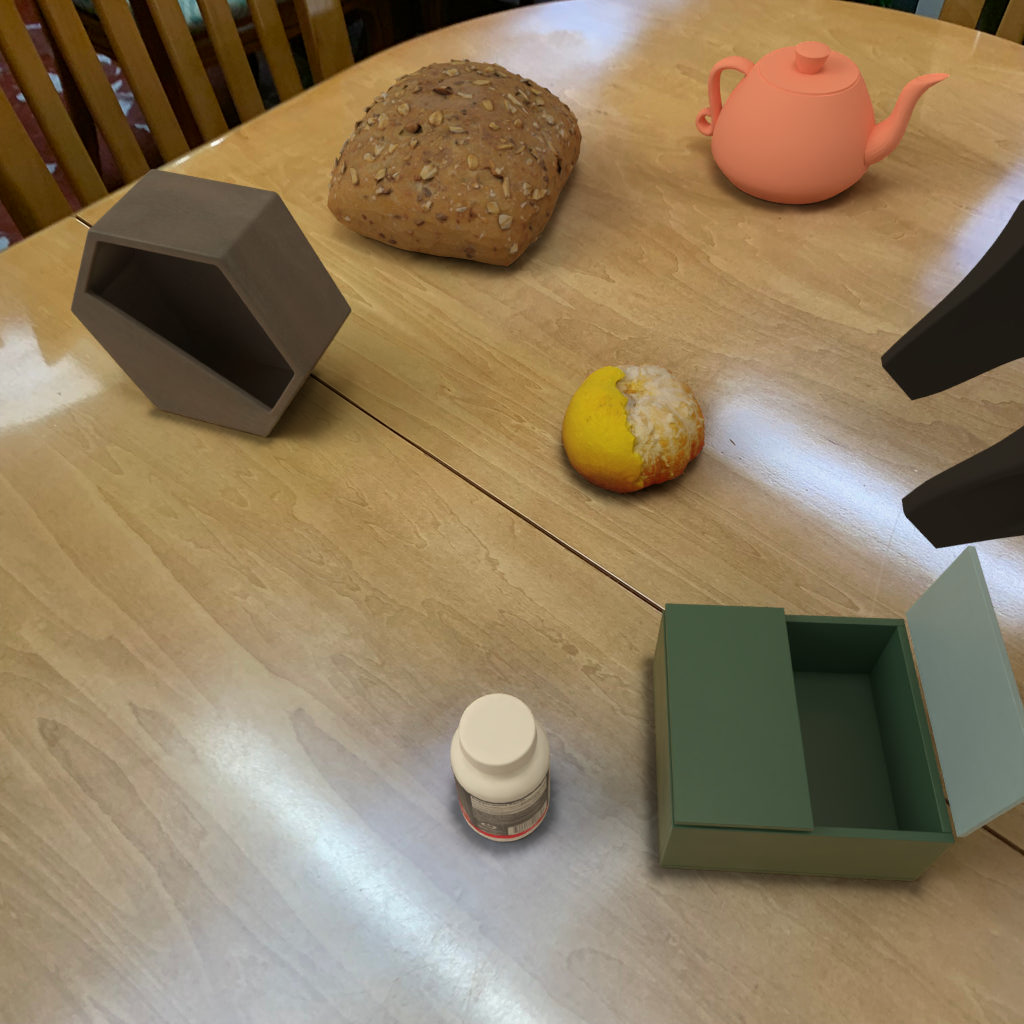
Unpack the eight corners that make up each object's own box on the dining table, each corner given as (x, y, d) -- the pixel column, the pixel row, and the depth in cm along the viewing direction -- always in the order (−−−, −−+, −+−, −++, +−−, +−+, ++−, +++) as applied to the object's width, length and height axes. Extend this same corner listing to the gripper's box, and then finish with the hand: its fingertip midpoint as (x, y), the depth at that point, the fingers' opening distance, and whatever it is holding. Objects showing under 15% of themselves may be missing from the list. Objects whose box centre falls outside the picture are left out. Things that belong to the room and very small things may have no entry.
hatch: (905, 612, 53) (911, 613, 53) (956, 836, 45) (964, 837, 46) (968, 545, 48) (975, 546, 48) (1039, 785, 40) (1048, 787, 40)
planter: (61, 348, 73) (99, 175, 57) (117, 288, 78) (167, 112, 61) (248, 466, 77) (332, 336, 61) (291, 403, 82) (380, 266, 66)
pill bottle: (461, 755, 56) (448, 680, 49) (549, 755, 56) (550, 679, 49) (457, 844, 53) (442, 779, 45) (550, 844, 53) (551, 778, 45)
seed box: (873, 671, 59) (908, 611, 53) (914, 881, 51) (961, 837, 45) (652, 662, 60) (664, 602, 54) (659, 867, 52) (674, 822, 46)
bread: (526, 294, 83) (523, 173, 74) (315, 249, 88) (287, 131, 79) (603, 151, 97) (609, 35, 87) (417, 120, 102) (404, 6, 92)
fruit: (692, 518, 66) (670, 441, 61) (559, 509, 71) (528, 436, 66) (724, 409, 73) (708, 330, 67) (601, 407, 77) (575, 333, 72)
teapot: (922, 158, 94) (966, 34, 85) (887, 243, 86) (931, 116, 76) (716, 113, 101) (734, -7, 91) (665, 188, 93) (679, 64, 83)
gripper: (1240, -13, 27) (829, 258, 35) (1517, 235, 17) (855, 530, 25) (1328, 162, 30) (928, 375, 38) (1609, 463, 20) (986, 661, 28)
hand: (906, 445), depth 32 cm, fingers open, 7 cm apart
